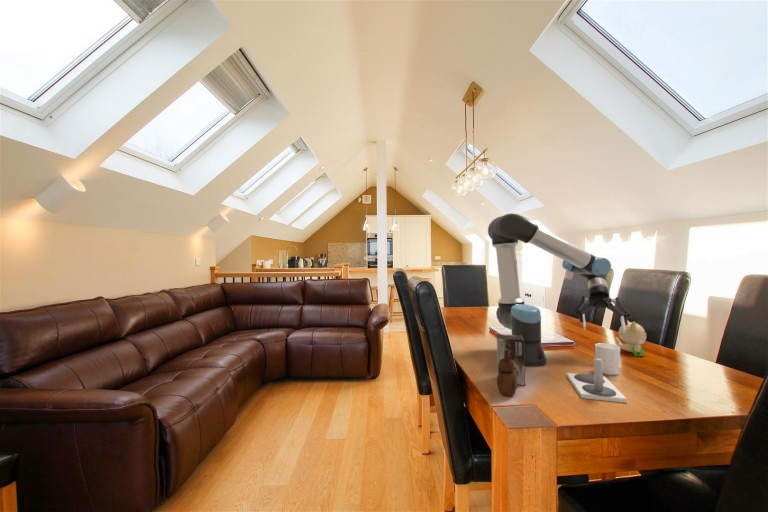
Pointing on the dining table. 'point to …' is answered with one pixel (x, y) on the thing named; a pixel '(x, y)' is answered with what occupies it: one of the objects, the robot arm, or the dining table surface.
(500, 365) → the wooden figurine
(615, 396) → the board
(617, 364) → the white cup
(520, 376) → the coffee box
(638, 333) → the kitten
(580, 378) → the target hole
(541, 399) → the dining table surface
